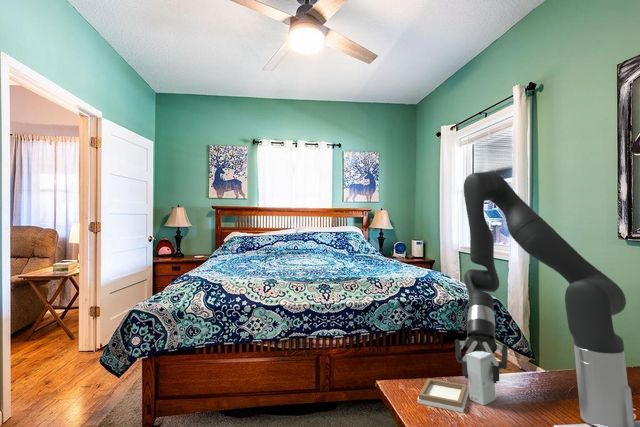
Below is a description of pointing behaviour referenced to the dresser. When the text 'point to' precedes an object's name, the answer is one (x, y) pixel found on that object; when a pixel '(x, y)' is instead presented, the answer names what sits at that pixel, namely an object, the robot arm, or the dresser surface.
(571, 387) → the dresser surface
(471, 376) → the skincare box
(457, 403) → the tray
